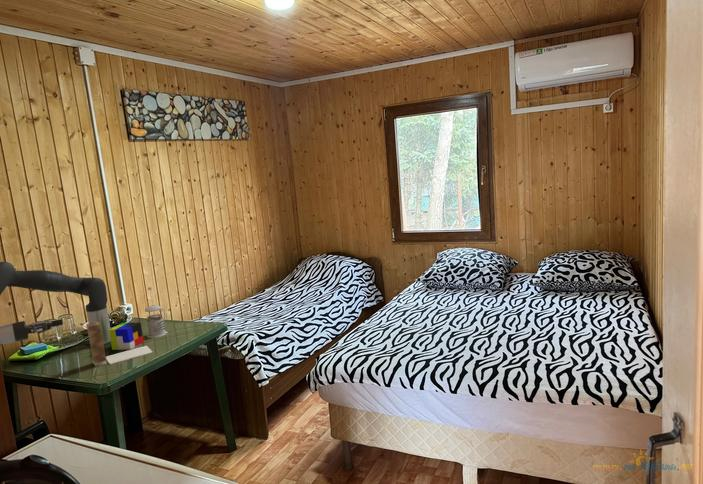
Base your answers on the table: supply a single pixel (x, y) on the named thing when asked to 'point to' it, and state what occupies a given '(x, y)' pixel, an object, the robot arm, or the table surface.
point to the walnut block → (96, 343)
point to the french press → (153, 329)
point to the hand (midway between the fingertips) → (62, 321)
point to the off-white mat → (128, 355)
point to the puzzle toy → (126, 336)
